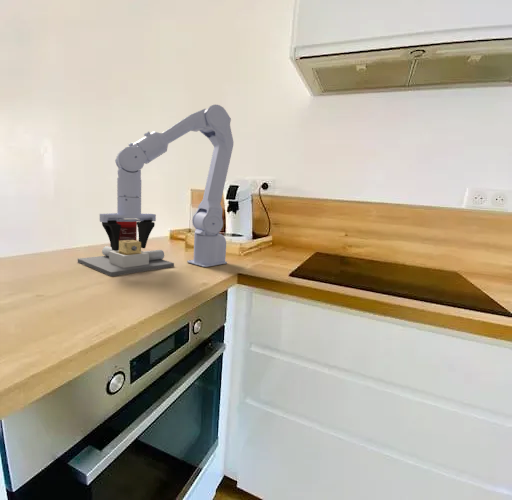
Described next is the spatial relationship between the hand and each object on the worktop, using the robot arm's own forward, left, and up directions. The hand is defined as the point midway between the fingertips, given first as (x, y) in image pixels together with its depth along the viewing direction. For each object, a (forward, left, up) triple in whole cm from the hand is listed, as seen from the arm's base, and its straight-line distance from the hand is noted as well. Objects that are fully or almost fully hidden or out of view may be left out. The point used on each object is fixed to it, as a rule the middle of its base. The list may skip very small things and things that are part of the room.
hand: (129, 248), depth 84 cm
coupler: (0, 0, -4) cm, 4 cm away
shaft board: (-1, -3, -5) cm, 6 cm away
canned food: (-9, -19, -5) cm, 22 cm away
